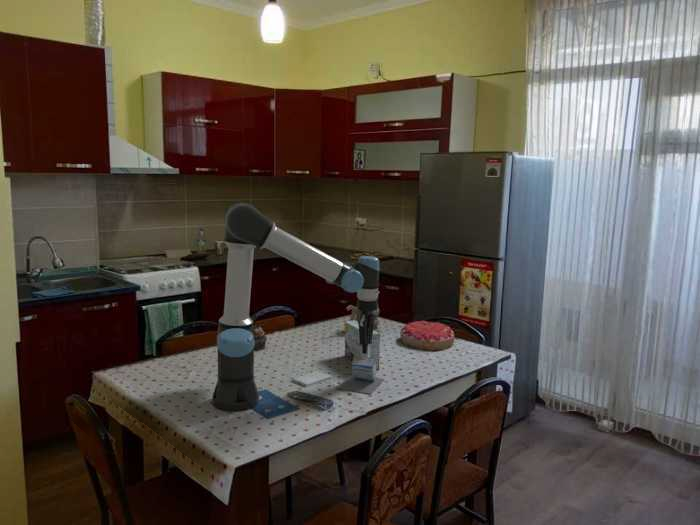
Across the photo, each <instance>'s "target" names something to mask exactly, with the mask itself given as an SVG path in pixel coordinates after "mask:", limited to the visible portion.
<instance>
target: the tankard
mask: <svg viewBox="0 0 700 525" xmlns="http://www.w3.org/2000/svg"><path fill="white" fill-rule="evenodd" d="M345 309H346V310H347V311H350V310H351V316H350V319H349V321H357V322H358V321H361V319H360V315H361V313H362V311H361V310H358V309H357V306H354V305H352V304H349V305H348V306H347V307H346V308H345ZM373 314H375V319H374V326H373V330H374V331H376V332H378V333H380V331H381V330H380V329H381V328H380V327H379V322H380V320H379V319H380V318H379V317H378V316H379V315H380V308H379V307H378V308H377V310H376V311H373Z"/></svg>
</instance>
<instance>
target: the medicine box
mask: <svg viewBox="0 0 700 525" xmlns="http://www.w3.org/2000/svg"><path fill="white" fill-rule="evenodd" d="M351 368H352V374H353V377H354V379H356V380H365V381H374V380H375V377H376V375H377V370H376V365H375V358H368V357H359V356H354V358H353V360H352V363H351Z"/></svg>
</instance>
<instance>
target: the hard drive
mask: <svg viewBox="0 0 700 525" xmlns="http://www.w3.org/2000/svg"><path fill="white" fill-rule="evenodd" d="M330 380H332V376H331V375H330V374H327V373H324V372H321V371H318V370H316V371H313V372H309V373H306V374H303V375H300V376H297V377H293V378H291V381H292V382H293V383H296V384H298V385H301V386H303V387H306V388H307V387H308V388H309V387H311V386H315V385H317V384H320V383H323V382H326V381H330Z"/></svg>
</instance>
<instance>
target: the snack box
mask: <svg viewBox="0 0 700 525" xmlns="http://www.w3.org/2000/svg"><path fill="white" fill-rule="evenodd" d="M371 342H372V344H370V356H369V358H375V365H376V371H377V370H378V371H379V370H380V354H381V352H380V351H381V350H380V349H381V348H380V347H381V345H380V344H381V333H380V332H379V333H378V332H376V331H374V330H373V335H372V341H371ZM359 343H360V340H359V325H358V322H357V321H355V320H354V321H350V320H347V321H344V356H345V357H347V358H348V359H350V360H351V361H353V358H354V356H359V357H361V351H362V345H360V344H359Z"/></svg>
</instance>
